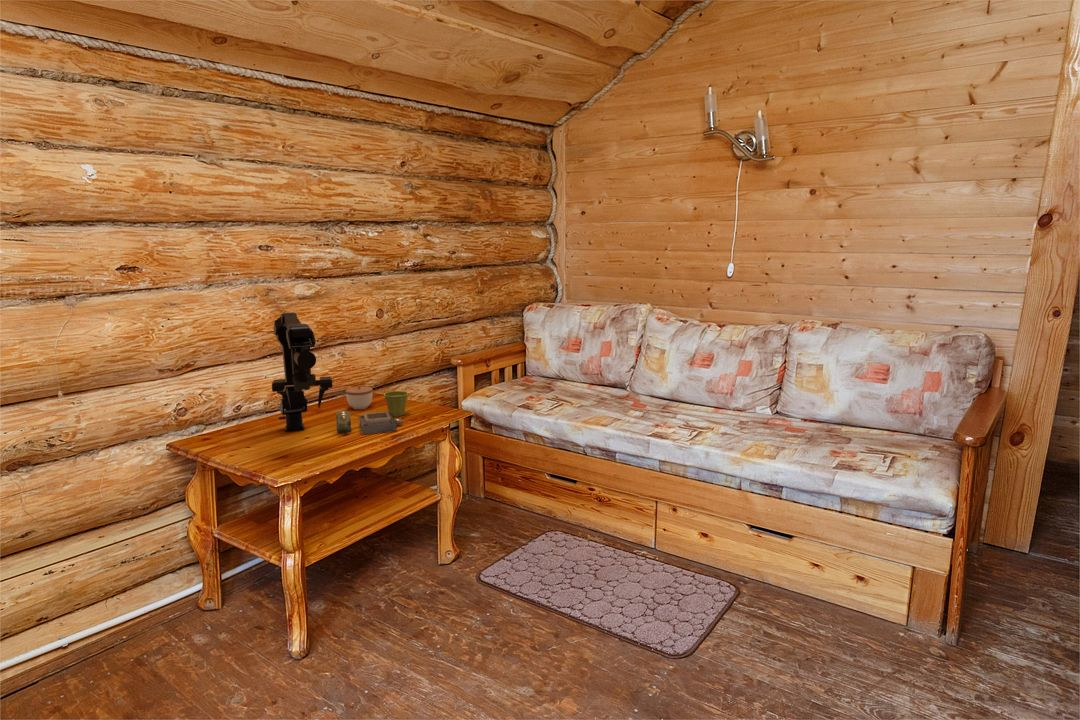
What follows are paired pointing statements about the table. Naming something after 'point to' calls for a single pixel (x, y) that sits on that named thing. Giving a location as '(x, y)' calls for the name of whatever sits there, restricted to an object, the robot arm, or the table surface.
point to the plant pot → (396, 402)
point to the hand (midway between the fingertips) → (304, 408)
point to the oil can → (343, 422)
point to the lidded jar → (359, 397)
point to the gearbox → (378, 422)
